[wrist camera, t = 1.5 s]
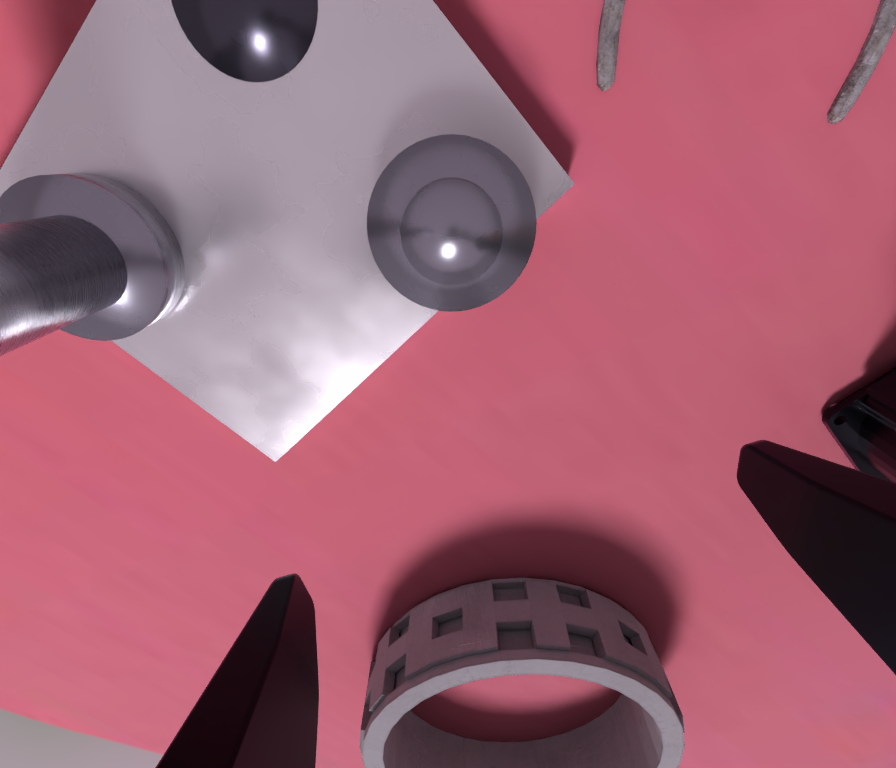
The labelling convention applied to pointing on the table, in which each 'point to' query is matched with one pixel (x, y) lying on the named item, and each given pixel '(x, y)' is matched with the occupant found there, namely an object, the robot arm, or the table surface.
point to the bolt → (83, 260)
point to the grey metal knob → (451, 222)
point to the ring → (519, 653)
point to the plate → (269, 179)
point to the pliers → (889, 14)
